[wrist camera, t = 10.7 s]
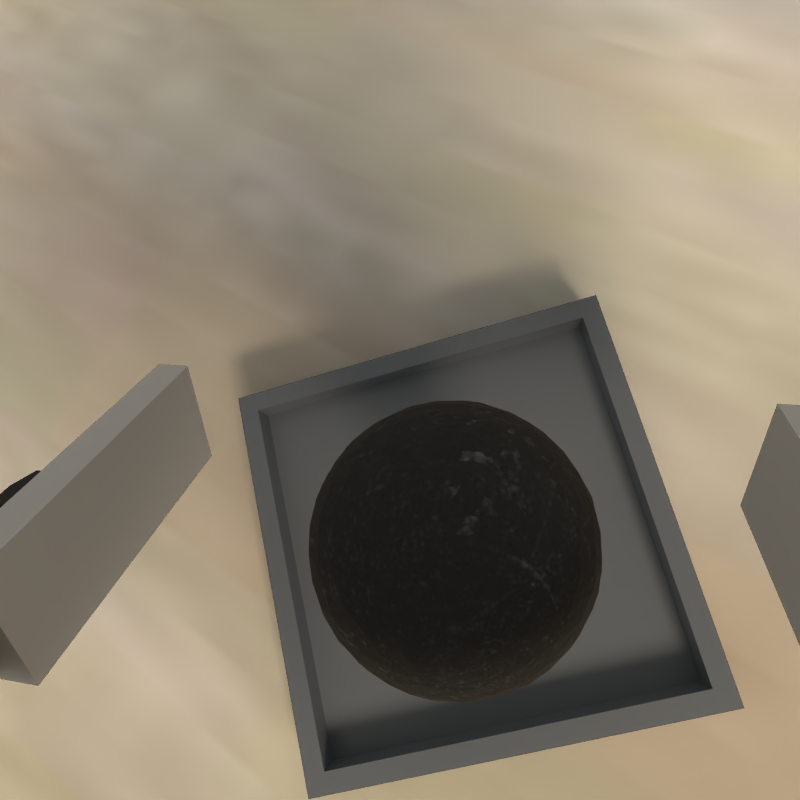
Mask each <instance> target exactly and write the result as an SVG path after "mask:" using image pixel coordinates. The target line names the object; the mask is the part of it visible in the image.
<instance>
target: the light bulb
mask: <svg viewBox="0 0 800 800" xmlns="http://www.w3.org/2000/svg"><path fill="white" fill-rule="evenodd" d="M309 563H310V570H311V577H312V583H313V586H314V589H315V592H316V595H317V598H318V601H319V604H320V607H321V610H322V613H323V616H324V617H325V619H326V621H327V622H328V624H329V626H330V628H331V629H332V631H333V633H334V635H335V636H336V638H337V640H338V641H339V642H340V643H341V644H342V645H343V646H344V647H345V648H346V649H347V650H348V651H349V652H350V654H351V655H352V656H353V657H354V658H355V659H356V660H357V662H358V663H359V664H361V665H362V666H363V667H364V668H365V669H366V670H367V671H369V672H370V673H372V674H373V675H375V676H376V677H378V678H379V679H381V680H382V681H384V682H385V683H387V684H388V685H390V686H392V687H395V688H397V689H399V690H401V691H403V692H405V693H408V694H410V695H413V696H417V697H421V698H425V699H429V700H433V701H449V702H473V701H480V700H487V699H494V698H497V697H499V696H502V695H504V694H507V693H509V692H512V691H515V690H517V689H520V688H522V687H525V686H527V685H529V684H530V683H532V682H533V681H535V680H536V679H537V678H539V677H540V676H542V675H543V674H544V673H546V672H547V671H549V670H550V669H551V668H552V667H553V666H554V665H555V664H556V663H557V662H558V661H559V660H560V659H561V658H562V657H563V656H564V655H565V654H566V653H567V652H568V651H569V650H570V649H571V647H572V646H573V644H574V643H575V641H576V640H577V638H578V637H579V635H580V634H581V632H582V630H583V628H584V625H585V623H586V621H587V620H588V618H589V616H590V614H591V612H592V610H593V608H594V604H595V601H596V599H597V596H598V593H599V586H600V578H601V574H602V548H601V531H600V527H599V523H598V519H597V515H596V511H595V507H594V503H593V499H592V496H591V494H590V492H589V491H588V489H587V487H586V485H585V483H584V482H583V480H582V478H581V476H580V474H579V473H578V471H577V470H576V468H575V467H574V465H573V464H572V462H571V461H570V459H569V458H568V457H567V455H566V454H565V452H564V451H563V450H562V449H561V448H560V447H559V446H558V445H557V444H556V443H555V442H553V441H552V440H551V439H550V438H549V437H548V436H547V435H546V434H545V433H544V432H543V431H541V430H540V429H538V428H537V427H535V426H534V425H532V424H531V423H529V422H528V421H526V420H524V419H522V418H520V417H518V416H516V415H515V414H513V413H511V412H508V411H505V410H502V409H499V408H496V407H493V406H490V405H486V404H483V403H480V402H472V401H433V402H428V403H424V404H419V405H414V406H410V407H407V408H405V409H403V410H401V411H398V412H396V413H394V414H392V415H390V416H388V417H386V418H384V419H382V420H380V421H378V422H377V423H375V424H373V425H372V426H370V427H369V428H368V429H366V430H365V431H363V432H362V433H361V434H360V435H359V436H358V437H356V438H355V439H354V440H353V441H352V442H351V443H350V444H349V445H348V446H347V447H346V448H345V450H344V451H343V453H342V454H341V455H340V456H339V458H338V459H337V460H336V461H335V463H334V465H333V466H332V468H331V470H330V472H329V473H328V474H327V476H326V478H325V480H324V482H323V484H322V486H321V489H320V491H319V494H318V496H317V498H316V501H315V506H314V510H313V514H312V518H311V522H310V529H309Z"/></svg>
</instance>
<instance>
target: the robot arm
mask: <svg viewBox="0 0 800 800" xmlns="http://www.w3.org/2000/svg"><path fill="white" fill-rule="evenodd" d="M211 456H212V455H211V451H210V448H209V444H208V440H207V437H206V433H205V429H204V426H203V422H202V418H201V414H200V411H199V407H198V403H197V400H196V396H195V392H194V389H193V385H192V381H191V378H190V374H189V370H188V367H187V366H176V365H161V364H159V365H158V366H157V367H156V368H155V369H153V370H152V371H151V372H150V373H149V374H148V375H147V376H146V377H145V378H143V379H142V380H141V381H140V382H139V383H138V384H137V385H136V386H135V387H134V388H132V389H131V390H130V391H129V392H128V393H127V394H126V395H125V396H124V397H122V398H121V399H120V400H119V401H118V402H117V403H116V404H115V405H114V406H112V407H111V408H110V409H109V410H108V411H107V412H106V413H105V414H104V415H103V416H101V417H100V418H99V419H98V420H97V421H96V422H95V423H94V424H93V425H91V426H90V427H89V428H88V429H87V430H86V431H85V432H84V433H83V434H81V435H80V436H79V437H78V438H77V439H76V440H75V441H74V442H73V443H72V444H70V445H69V446H68V447H67V448H66V449H65V450H64V451H63V452H62V453H60V454H59V455H58V456H57V457H56V458H55V459H54V460H53V461H52V462H50V463H49V464H48V465H47V466H46V467H45V468H44V469H43V470H42V471H35V472H33V473H31V474H30V475H28V476H26V477H24V478H23V479H21V480H19V481H17V482H16V483H14V484H12V485H10V486H9V487H8V488H7V489H6V490H4V491H3V492H2V493H1V494H0V678H1V679H5V680H10V681H15V682H21V683H26V684H32V685H37V686H39V684H40V683H41V682H42V680H43V679H44V678H45V676H46V675H47V674H48V672H49V671H50V670H51V668H52V667H53V666H54V664H55V663H56V662H57V660H58V659H59V658H60V656H61V655H62V654H63V652H64V651H65V650H66V648H67V647H68V646H69V644H70V643H71V642H72V640H73V639H74V638H75V636H76V635H77V634H78V632H79V631H80V630H81V628H82V627H83V626H84V624H85V623H86V622H87V620H88V619H89V618H90V616H91V615H92V614H93V613H94V611H95V610H96V609H97V607H98V606H99V605H100V603H101V602H102V601H103V599H104V598H105V597H106V595H107V594H108V593H109V591H110V590H111V589H112V587H113V586H114V585H115V583H116V582H117V581H118V579H119V578H120V577H121V575H122V574H123V573H124V571H125V570H126V569H127V567H128V566H129V565H130V563H131V562H132V561H133V559H134V558H135V557H136V555H137V554H138V553H139V551H140V550H141V549H142V547H143V546H144V545H145V543H146V542H147V541H148V539H149V538H150V537H151V535H152V534H153V533H154V531H155V530H156V529H157V527H158V526H159V525H160V523H161V522H162V521H163V519H164V518H165V517H166V515H167V514H168V513H169V511H170V510H171V509H172V508H173V506H174V505H175V504H176V502H177V501H178V500H179V498H180V497H181V496H182V494H183V493H184V492H185V490H186V489H187V488H188V486H189V485H190V484H191V482H192V481H193V480H194V478H195V477H196V476H197V474H198V473H199V472H200V470H201V469H202V468H203V466H204V465H205V464H206V462H207V461H208V460H209V458H210V457H211ZM741 508H742V510H743V512H744V515H745V517H746V519H747V522H748V524H749V527H750V529H751V531H752V534H753V536H754V538H755V541H756V543H757V546H758V548H759V550H760V553H761V555H762V557H763V560H764V562H765V564H766V567H767V569H768V572H769V574H770V576H771V579H772V581H773V583H774V586H775V588H776V591H777V593H778V595H779V598H780V600H781V602H782V605H783V607H784V609H785V612H786V614H787V617H788V619H789V621H790V624H791V626H792V628H793V631H794V633H795V636H796V638H797V640H798V643H799V645H800V405H788V404H777V406H776V409H775V412H774V414H773V417H772V420H771V423H770V425H769V428H768V431H767V434H766V436H765V439H764V442H763V445H762V447H761V450H760V453H759V456H758V458H757V461H756V464H755V467H754V469H753V472H752V475H751V478H750V480H749V483H748V486H747V489H746V492H745V494H744V497H743V500H742V503H741Z"/></svg>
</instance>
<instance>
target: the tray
mask: <svg viewBox="0 0 800 800" xmlns="http://www.w3.org/2000/svg"><path fill="white" fill-rule="evenodd" d="M238 399H239V405H240V411H241V416H242V422H243V428H244V433H245V439H246V445H247V450H248V456H249V462H250V468H251V473H252V479H253V485H254V490H255V496H256V502H257V508H258V513H259V519H260V525H261V530H262V536H263V542H264V548H265V553H266V559H267V565H268V570H269V576H270V582H271V588H272V593H273V599H274V605H275V610H276V616H277V622H278V628H279V633H280V639H281V645H282V650H283V656H284V662H285V668H286V673H287V679H288V685H289V690H290V696H291V702H292V708H293V713H294V719H295V725H296V730H297V736H298V742H299V748H300V753H301V759H302V765H303V770H304V776H305V782H306V788H307V793H308V799H312V798H316V797H321V796H326V795H331V794H335V793H340V792H345V791H350V790H355V789H359V788H364V787H369V786H374V785H379V784H383V783H388V782H393V781H398V780H403V779H407V778H412V777H417V776H422V775H426V774H431V773H436V772H441V771H446V770H450V769H455V768H460V767H465V766H470V765H474V764H479V763H484V762H489V761H494V760H498V759H503V758H508V757H513V756H517V755H522V754H527V753H532V752H537V751H541V750H546V749H551V748H556V747H561V746H565V745H570V744H575V743H580V742H585V741H589V740H594V739H599V738H604V737H608V736H613V735H618V734H623V733H628V732H632V731H637V730H642V729H647V728H652V727H656V726H661V725H666V724H671V723H676V722H680V721H685V720H690V719H695V718H699V717H704V716H709V715H714V714H719V713H723V712H728V711H733V710H738V709H743V708H744V706H743V703H742V700H741V698H740V695H739V692H738V689H737V686H736V684H735V681H734V678H733V675H732V673H731V670H730V667H729V664H728V661H727V659H726V656H725V653H724V650H723V648H722V645H721V642H720V639H719V636H718V634H717V631H716V628H715V625H714V622H713V620H712V617H711V614H710V611H709V609H708V606H707V603H706V600H705V597H704V595H703V592H702V589H701V586H700V584H699V581H698V578H697V575H696V572H695V570H694V567H693V564H692V561H691V558H690V556H689V553H688V550H687V547H686V545H685V542H684V539H683V536H682V533H681V531H680V528H679V525H678V522H677V520H676V517H675V514H674V511H673V508H672V506H671V503H670V500H669V497H668V494H667V492H666V489H665V486H664V483H663V481H662V478H661V475H660V472H659V469H658V467H657V464H656V461H655V458H654V455H653V453H652V450H651V447H650V444H649V442H648V439H647V436H646V433H645V430H644V428H643V425H642V422H641V419H640V417H639V414H638V411H637V408H636V405H635V403H634V400H633V397H632V394H631V391H630V389H629V386H628V383H627V380H626V378H625V375H624V372H623V369H622V366H621V364H620V361H619V358H618V355H617V353H616V350H615V347H614V344H613V341H612V339H611V336H610V333H609V330H608V327H607V325H606V322H605V319H604V316H603V314H602V311H601V308H600V305H599V302H598V300H597V297H596V295H595V296H591V297H588V298H584V299H581V300H577V301H574V302H570V303H567V304H564V305H560V306H557V307H553V308H550V309H546V310H543V311H539V312H536V313H532V314H529V315H525V316H522V317H519V318H515V319H512V320H508V321H505V322H501V323H498V324H494V325H491V326H487V327H484V328H480V329H477V330H474V331H470V332H467V333H463V334H460V335H456V336H453V337H449V338H446V339H442V340H439V341H436V342H432V343H429V344H425V345H422V346H418V347H415V348H411V349H408V350H404V351H401V352H397V353H394V354H391V355H387V356H384V357H380V358H377V359H373V360H370V361H366V362H363V363H359V364H356V365H353V366H349V367H346V368H342V369H339V370H335V371H332V372H328V373H325V374H321V375H318V376H314V377H311V378H308V379H304V380H301V381H297V382H294V383H290V384H287V385H283V386H280V387H276V388H273V389H269V390H266V391H263V392H259V393H256V394H252V395H249V396H245V397H242V398H238ZM433 401H472V402H480V403H483V404H486V405H490V406H493V407H496V408H499V409H502V410H505V411H508V412H511V413H513V414H515V415H516V416H518V417H520V418H522V419H524V420H526V421H528V422H529V423H531V424H532V425H534V426H535V427H537V428H538V429H540V430H541V431H543V432H544V433H545V434H546V435H547V436H548V437H549V438H550V439H551V440H552V441H553V442H555V443H556V444H557V445H558V446H559V447H560V448H561V449H562V450H563V451H564V452H565V454H566V455H567V457H568V458H569V459H570V461H571V462H572V464H573V465H574V467H575V468H576V470H577V471H578V473H579V474H580V476H581V478H582V480H583V482H584V483H585V485H586V487H587V489H588V491H589V492H590V494H591V496H592V499H593V503H594V507H595V511H596V515H597V519H598V523H599V527H600V531H601V548H602V574H601V578H600V586H599V593H598V596H597V599H596V601H595V604H594V608H593V610H592V612H591V614H590V616H589V618H588V620H587V621H586V623H585V625H584V628H583V630H582V632H581V634H580V635H579V637H578V638H577V640H576V641H575V643H574V644H573V646H572V647H571V649H570V650H569V651H568V652H567V653H566V654H565V655H564V656H563V657H562V658H561V659H560V660H559V661H558V662H557V663H556V664H555V665H554V666H553V667H552V668H551V669H550V670H549V671H547V672H546V673H544V674H543V675H542V676H540V677H539V678H537V679H536V680H535V681H533V682H532V683H530V684H529V685H527V686H525V687H522V688H520V689H517V690H515V691H512V692H509V693H507V694H504V695H502V696H499V697H497V698H494V699H487V700H480V701H473V702H449V701H433V700H429V699H425V698H421V697H417V696H413V695H410V694H408V693H405V692H403V691H401V690H399V689H397V688H395V687H392V686H390V685H388V684H387V683H385V682H384V681H382V680H381V679H379V678H378V677H376V676H375V675H373V674H372V673H370V672H369V671H367V670H366V669H365V668H364V667H363V666H362V665H361V664H359V663H358V662H357V660H356V659H355V658H354V657H353V656H352V655H351V654H350V652H349V651H348V650H347V649H346V648H345V647H344V646H343V645H342V644H341V643H340V642H339V641H338V640H337V638H336V636H335V635H334V633H333V631H332V629H331V628H330V626H329V624H328V622H327V621H326V619H325V617H324V616H323V613H322V610H321V607H320V604H319V601H318V598H317V595H316V592H315V589H314V586H313V583H312V577H311V570H310V563H309V529H310V522H311V518H312V514H313V510H314V506H315V501H316V498H317V496H318V494H319V491H320V489H321V486H322V484H323V482H324V480H325V478H326V476H327V474H328V473H329V472H330V470H331V468H332V466H333V465H334V463H335V461H336V460H337V459H338V458H339V456H340V455H341V454H342V453H343V451H344V450H345V448H346V447H347V446H348V445H349V444H350V443H351V442H352V441H353V440H354V439H355V438H356V437H358V436H359V435H360V434H361V433H362V432H363V431H365V430H366V429H368V428H369V427H370V426H372V425H373V424H375V423H377V422H378V421H380V420H382V419H384V418H386V417H388V416H390V415H392V414H394V413H396V412H398V411H401V410H403V409H405V408H407V407H410V406H414V405H419V404H424V403H428V402H433Z"/></svg>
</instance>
